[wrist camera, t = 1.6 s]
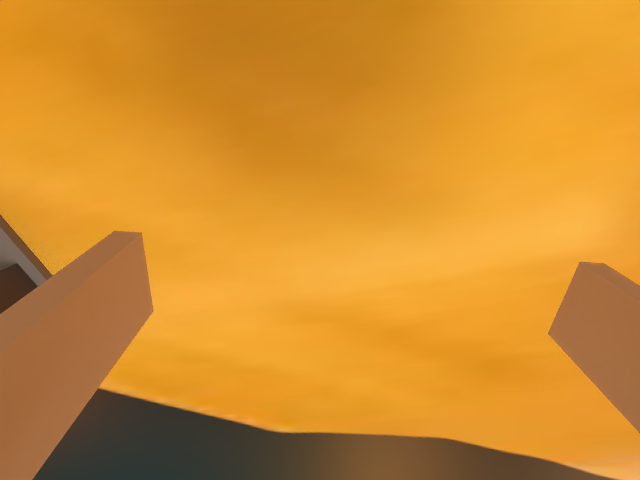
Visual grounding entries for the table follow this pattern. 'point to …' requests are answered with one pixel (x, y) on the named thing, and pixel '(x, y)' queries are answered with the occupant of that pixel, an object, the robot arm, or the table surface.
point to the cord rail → (19, 254)
